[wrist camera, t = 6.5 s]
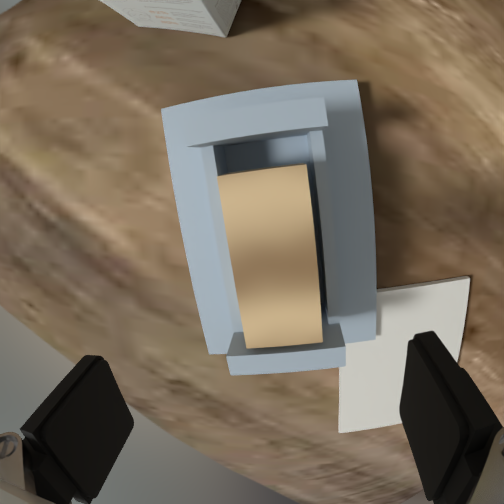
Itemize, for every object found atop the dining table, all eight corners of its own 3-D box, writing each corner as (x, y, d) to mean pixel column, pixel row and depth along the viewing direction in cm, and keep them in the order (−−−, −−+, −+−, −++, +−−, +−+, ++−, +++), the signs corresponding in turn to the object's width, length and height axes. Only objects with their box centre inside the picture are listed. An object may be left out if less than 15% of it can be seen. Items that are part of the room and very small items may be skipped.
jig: (166, 110, 22) (119, 96, 15) (353, 83, 20) (380, 54, 13) (212, 346, 28) (189, 402, 21) (372, 332, 26) (394, 387, 19)
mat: (467, 275, 23) (470, 278, 23) (442, 409, 28) (443, 413, 27) (336, 294, 25) (337, 297, 25) (338, 429, 30) (338, 433, 29)
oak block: (229, 172, 19) (216, 176, 16) (303, 162, 19) (306, 164, 15) (252, 320, 22) (246, 348, 19) (318, 314, 21) (322, 342, 18)
